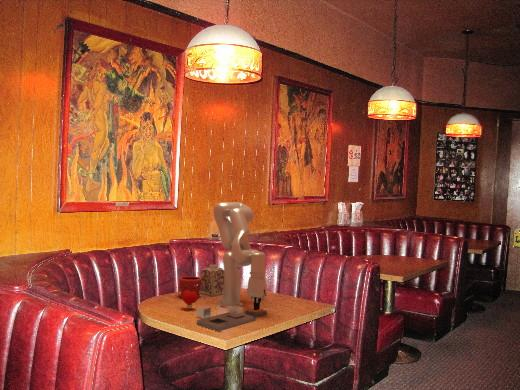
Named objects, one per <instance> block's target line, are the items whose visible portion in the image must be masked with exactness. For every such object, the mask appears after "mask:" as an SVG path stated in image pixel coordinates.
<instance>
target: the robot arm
mask: <svg viewBox="0 0 520 390" xmlns="http://www.w3.org/2000/svg"><path fill="white" fill-rule="evenodd" d="M228 217H229V218H228ZM213 218H214V221H215V223H216V226H217V228H218V233H219V237H220V240H221V245H222V247H223V249H226V250H228V251H226V252H224V254H223V256H222V263H223V270H224V294H223V295H220V297H219V300H221V302H220V306H221V307H223V308H228V307H229V308H230V307H234V306H239V307H242V308H243V303H242V302H241V280H242V278H241V277H242V276H241V272H240V270H239V269H238V268H239V267H240V268H241V267H249V266H250V272H249V275H250V276H249V277H248V281H247V290H246V293H247V296H248V297H249V298H251V300H252V302H253V308H254V310H259V309H261V308H260V307H261V302H262V301H265V300H266V296H267V280H266V278H265V277H266V276H265V275H266V254H265V252H263V251H259V250H257V249H251V244H250V241H249V237H248V236H249V234H251V233H250V232H251V230H250V227H249V224H248V223H252V222H253V221H254V219H255V213H254V211H253V209H252V208H251V207H249V206H248V205H246V204H244V203H243V202H241V201H221V202H218V203H216V204H215V205H214V207H213Z"/></svg>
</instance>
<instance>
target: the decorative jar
mask: <svg viewBox="0 0 520 390" xmlns="http://www.w3.org/2000/svg"><path fill="white" fill-rule="evenodd" d="M200 278H201V288H200V291H199V294H200V295H205V296H209V297H217V296H223V295H224V268H223V267H218V265H217V264H209V266H208V267H204V268H203V269H202V270H201V271H200Z"/></svg>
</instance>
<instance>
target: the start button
mask: <svg viewBox="0 0 520 390" xmlns="http://www.w3.org/2000/svg"><path fill="white" fill-rule="evenodd" d="M262 310H263V309H262V308H260V309H259V310H254V307H253V308H250V311H253V312H260V311H262Z"/></svg>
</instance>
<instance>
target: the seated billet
mask: <svg viewBox="0 0 520 390" xmlns="http://www.w3.org/2000/svg"><path fill="white" fill-rule="evenodd" d="M228 312H229V317H231V318H234V319H238V318H242V317H243V314H244V307H243V306H242V307H240V306H234V307H229V310H228Z"/></svg>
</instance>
